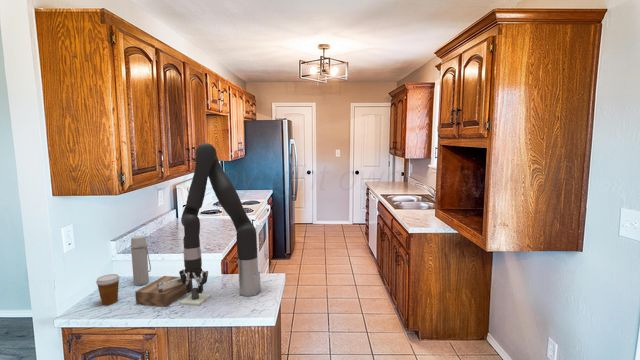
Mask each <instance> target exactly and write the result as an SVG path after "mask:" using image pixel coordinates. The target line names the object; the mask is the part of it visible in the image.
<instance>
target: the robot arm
mask: <svg viewBox="0 0 640 360" xmlns="http://www.w3.org/2000/svg"><path fill="white" fill-rule="evenodd" d="M217 154H218V153H217V150H216V147H215V146H214V145H213V144H211V143H208V142H205V143H201V144H199V145H198V146H197V147H196V148H195V152H194V155H195V166H194V172H193V177H192V179H191V183H190V187H189V190H188V193H187V194H188V195H187V197H186V198H187V199H186V203H185V206H184V209H183V210H182V214H181V218H180V222H181V225H182V226H183V230H184V231H183V233H184V236H183V238H182V239H183V264H184V266H183V267H184V269H181V270H179V271H178V272H179V277H181V281H182V283H183V284H184V283H185V284H186V288H187V291H188V293H187V294H191V289H192V287H191V284H190V283H191V280H192V281H193V280H195V282H196V283H197V288H198V293H199V294H203V292H204V285H206V284H207V282H208V275H209V271H208V270H203V268H202V266H203V263H202V249H201V240H200V232H201V231H200V230H201V221H200V218H199V217H198V216H199V212H200V210H201V208H202V207H203V203H204V201H205V195H206V189H207V184H208V179H209V182H210V185H211V188H212V190H213V193H214V195H215V196H216V199H217V200H218V203H219V205H220V206H221V208H222V209H223V210H224V212H225V213H226V214H227V215H228V216H229V218H230V219H231V221H232V223H233V226H234V228H235V231H236V250H237V251H236V253H237V268H238V285H239V286H238V287H239V295H241V296H243V297H250V296H251V297H252V296H257V295H258V294H259V293H260V292H261V290H262V289H261V287H262V286H261V272H260V271H259V261H258V260H259V259H258V237H257V229H256V226H254V224H253V222H252V221H251V219H250V218H249V216H248V215H247V213H246V211H245V209H244V205H243V202H242V201H241V198H240V196H239V193H238V192H237V189H236V188H235V186H234V184H233V183H232V181H231V179H230V178H229V176H228V175H227V174H226V172H225V171H224V169H223V168H222V166H221V163H220V160H219V158H218V156H217ZM186 275H187V277H186ZM192 278H193V279H192Z"/></svg>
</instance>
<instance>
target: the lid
mask: <svg viewBox="0 0 640 360" xmlns="http://www.w3.org/2000/svg"><path fill="white" fill-rule="evenodd" d="M210 298H212V294H207V293H206V294H205V293H200V294H199V293H198V287H193V288H192V289H191V292H190V293H189V295H187V296H186V297H184V298H183V299H181V300H180V301H179V302H178V305H180V306H181V305H182V306H194V307H200V306H201V305H202V304H204V303H205V302H206V301H208V300H209V299H210Z"/></svg>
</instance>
